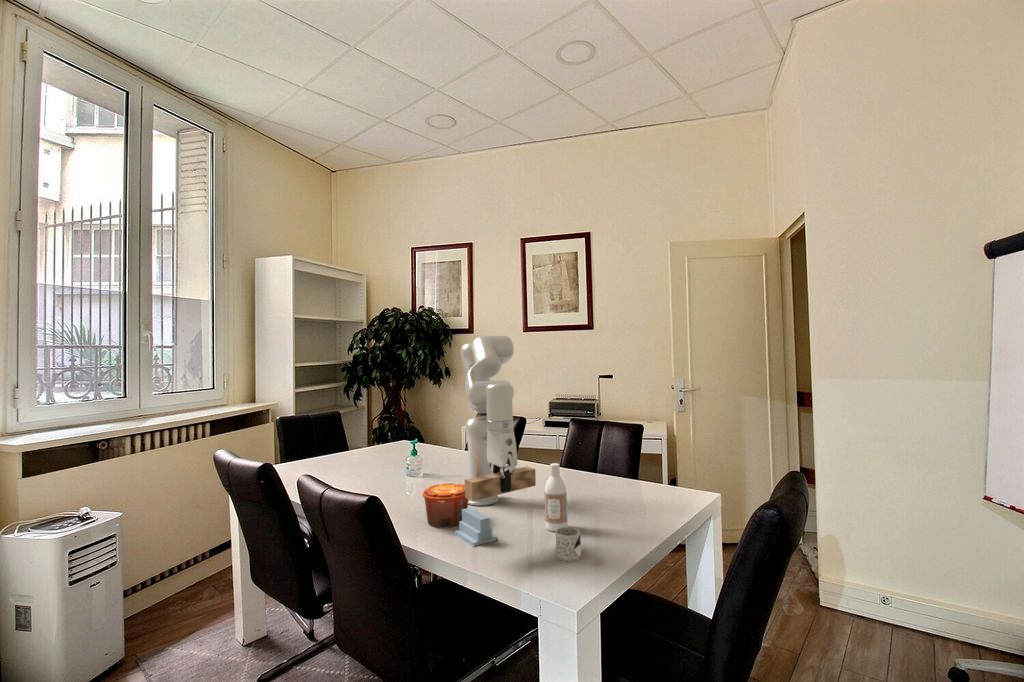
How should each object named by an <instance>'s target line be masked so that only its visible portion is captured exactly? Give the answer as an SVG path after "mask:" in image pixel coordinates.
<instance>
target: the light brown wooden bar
mask: <svg viewBox="0 0 1024 682" xmlns="http://www.w3.org/2000/svg"><path fill="white" fill-rule="evenodd" d="M500 478H502V474H501V471H500V472H498V473H493V474H489V475H484V476H479V477H474V478H470V479H469V478H465V479H464V485H465V498H467V499H469V500H471V501H475V500H479V499H483V498H487V497H491V496H495V495H497V496H499V495H503V494H507V493H511V492H516V491H519V490H523V489H527V488H531V487H536V482H537V481H536V468H533V467H531V466H528V465H527V466H523V467H518V468H517V467H516V470H515V471H514V472H513V473H512V477H511V491H507V492H501V479H500Z"/></svg>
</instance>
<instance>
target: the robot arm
mask: <svg viewBox="0 0 1024 682" xmlns="http://www.w3.org/2000/svg"><path fill="white" fill-rule="evenodd" d="M513 354H514V343H513V341H512V339H511V338H510V336H507V335H482V336H481V335H480V336H477V338H475V339H474V340H473V342H470V343H469V342H468V343H465V344H463V345H462V347H461V348H460V358H461V362H462V365H463V368H464V371H465V372H466V376H465V379H464V380H465V381H464V382H465V384H464V387H465V391H466V392H465V393H466V399H467V401H468V408H469V411H471V413H473V414H486V416H485V415H484V416H475V417H472V418H469V419H468V420H467V421H466V423H465V437H466V441H467V451H468V479H470V478H474V477H479V476H484V475H489V474H493V473H498V472H501V474H502V478H500V479H501V492H507V491H511V477H512V473H513V472H514V471H515V470H516V469H517V467H516V466H517V465H518V453H517V452H518V451H517V441H516V436H515V431H514V416H513V415H514V414H513V413H514V410H513V398H514V387H513V385H512V384H511V383H510V382H509V381H507V380H491V379H492V378H493V377H495V376H496V375H498V374H499V372H500V371H501V369H502V365H505V364H507V363H508V362H509V361H510V360H511V359H512V358H513V356H514V355H513ZM499 500H500V498H499V495H495V496H491V497H487V498H483V499H479V500H475V501H471V500H469V499H468V505H470V506H477V507H481V506H483V507H484V506H490V505H494V504H497V503H498V502H499Z"/></svg>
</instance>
